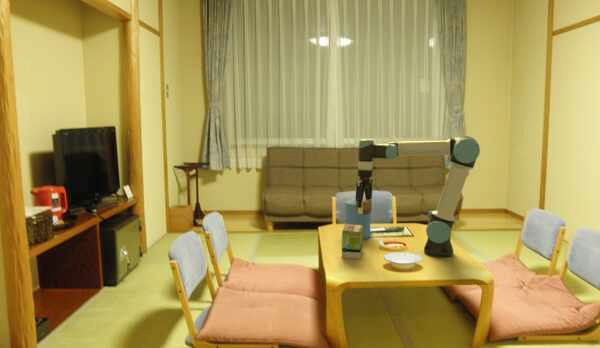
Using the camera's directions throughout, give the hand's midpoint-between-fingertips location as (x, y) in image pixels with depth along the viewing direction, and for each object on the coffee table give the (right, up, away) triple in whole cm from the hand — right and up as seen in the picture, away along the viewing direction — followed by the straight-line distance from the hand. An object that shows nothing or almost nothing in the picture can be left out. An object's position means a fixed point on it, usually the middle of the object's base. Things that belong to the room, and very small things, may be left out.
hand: (363, 212), depth 257 cm
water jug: (+1, -18, +38) cm, 42 cm away
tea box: (-6, -23, +3) cm, 24 cm away
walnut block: (0, 0, 0) cm, 0 cm away
